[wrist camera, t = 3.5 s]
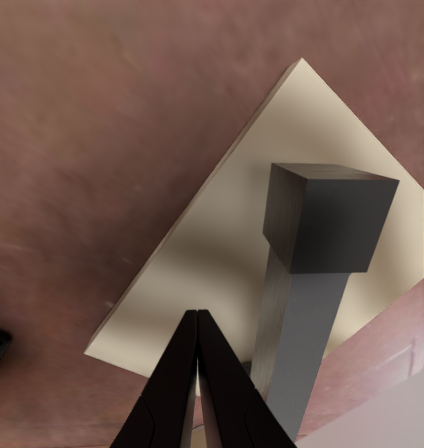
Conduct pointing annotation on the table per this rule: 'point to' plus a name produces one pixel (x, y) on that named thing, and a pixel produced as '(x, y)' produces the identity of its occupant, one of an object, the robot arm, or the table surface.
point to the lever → (310, 272)
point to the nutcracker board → (253, 237)
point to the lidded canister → (198, 438)
